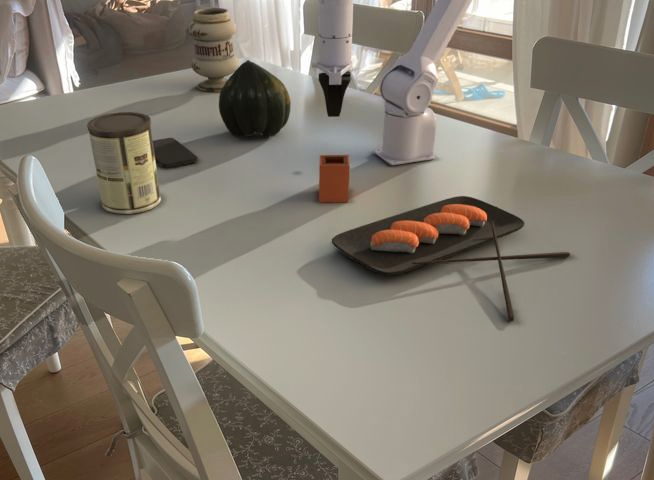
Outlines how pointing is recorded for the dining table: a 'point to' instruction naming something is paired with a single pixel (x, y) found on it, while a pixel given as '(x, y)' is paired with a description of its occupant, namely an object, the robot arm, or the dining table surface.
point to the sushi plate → (433, 237)
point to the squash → (254, 102)
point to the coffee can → (125, 162)
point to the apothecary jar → (213, 47)
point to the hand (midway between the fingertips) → (333, 115)
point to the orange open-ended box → (334, 178)
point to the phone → (172, 153)
